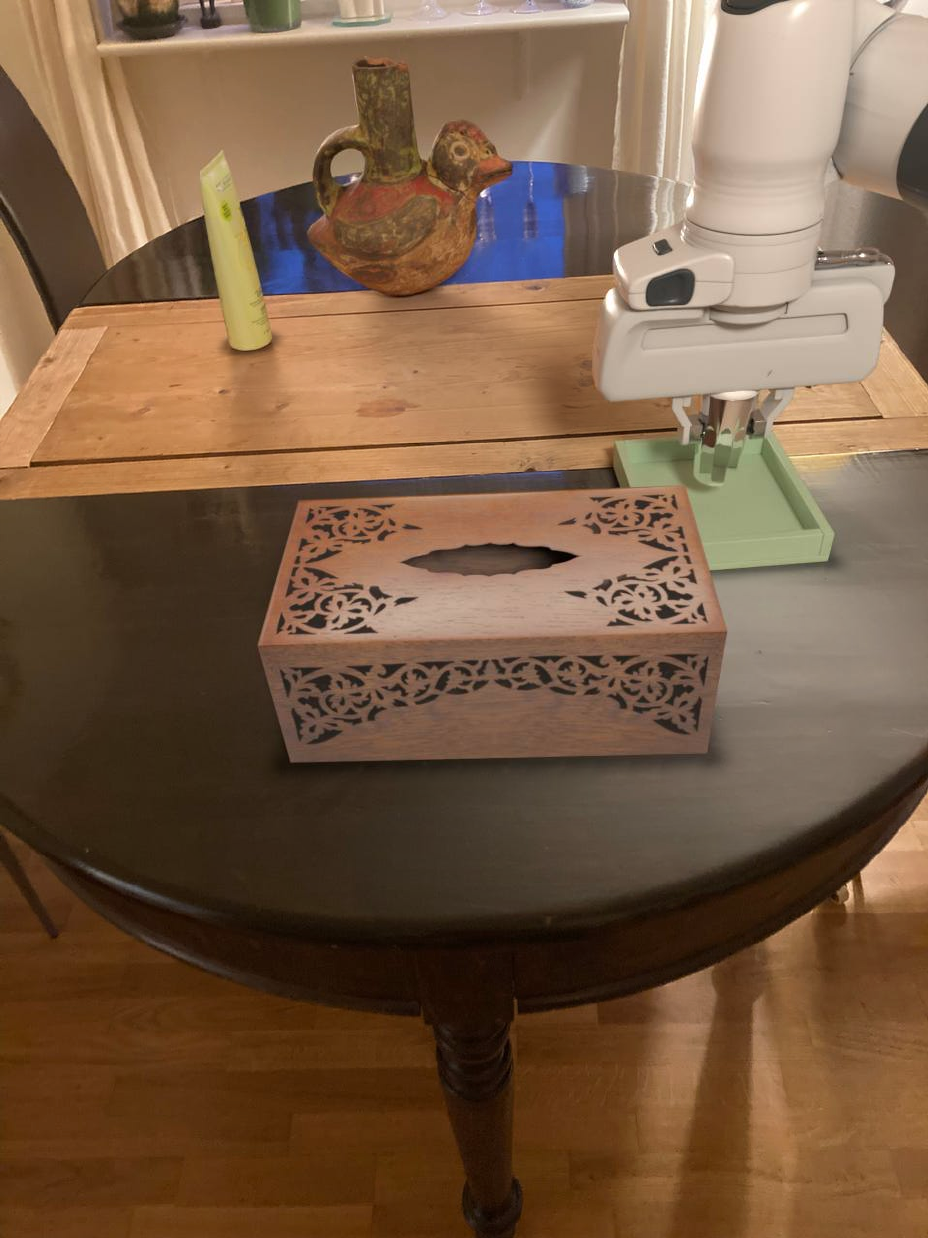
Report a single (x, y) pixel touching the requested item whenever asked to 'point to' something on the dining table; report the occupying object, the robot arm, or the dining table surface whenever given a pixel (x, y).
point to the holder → (736, 502)
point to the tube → (233, 259)
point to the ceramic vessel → (400, 189)
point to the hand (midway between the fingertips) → (722, 438)
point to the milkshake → (722, 435)
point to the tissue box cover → (494, 627)
